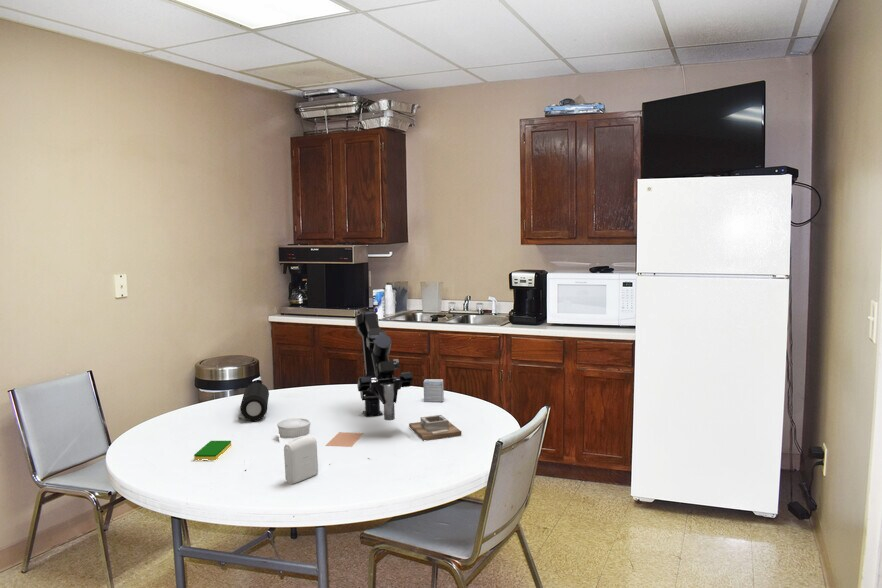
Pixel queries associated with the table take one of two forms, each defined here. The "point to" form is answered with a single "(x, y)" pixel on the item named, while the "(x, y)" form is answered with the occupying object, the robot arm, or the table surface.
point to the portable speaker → (254, 401)
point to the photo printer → (300, 459)
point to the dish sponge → (212, 450)
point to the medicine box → (433, 390)
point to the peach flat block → (344, 439)
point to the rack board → (434, 428)
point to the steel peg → (388, 401)
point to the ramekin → (293, 427)
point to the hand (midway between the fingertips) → (389, 403)
